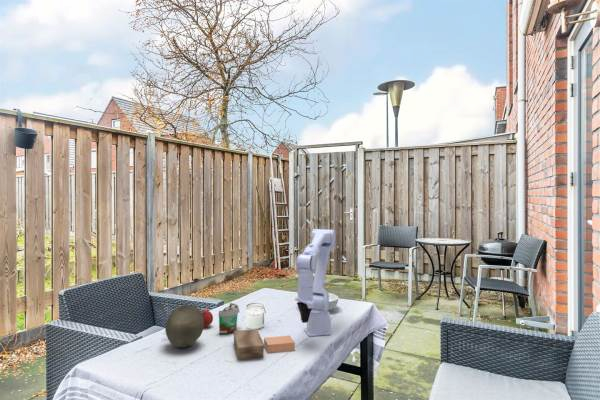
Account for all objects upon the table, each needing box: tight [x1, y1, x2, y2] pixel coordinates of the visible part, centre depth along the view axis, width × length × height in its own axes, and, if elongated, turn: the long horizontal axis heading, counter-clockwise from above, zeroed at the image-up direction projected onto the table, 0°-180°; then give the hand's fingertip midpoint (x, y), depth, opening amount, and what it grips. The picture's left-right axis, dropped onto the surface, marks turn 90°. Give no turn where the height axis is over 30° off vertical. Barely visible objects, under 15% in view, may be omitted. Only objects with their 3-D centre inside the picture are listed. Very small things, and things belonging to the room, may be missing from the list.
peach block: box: [263, 335, 296, 354], centre depth 134 cm, size 10×7×3 cm
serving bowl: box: [296, 292, 339, 312], centre depth 183 cm, size 21×21×7 cm
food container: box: [218, 302, 240, 336], centre depth 150 cm, size 12×6×10 cm, turn 168°
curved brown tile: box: [233, 328, 265, 360], centre depth 131 cm, size 9×16×5 cm, turn 16°
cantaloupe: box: [164, 304, 205, 348], centre depth 134 cm, size 14×14×15 cm
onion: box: [201, 308, 214, 328], centre depth 154 cm, size 6×6×8 cm
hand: (304, 322), depth 137 cm, fingers closed
